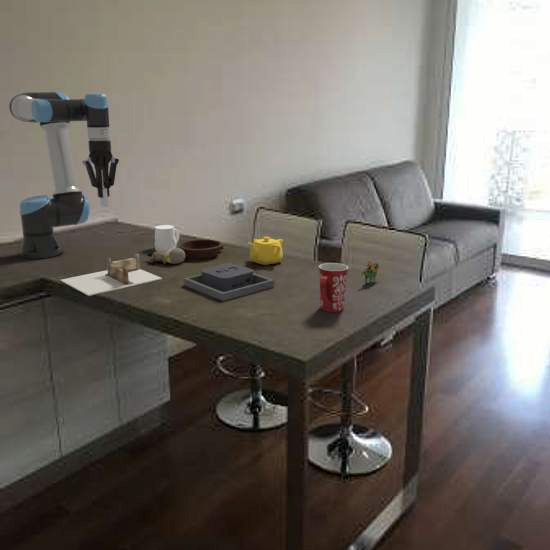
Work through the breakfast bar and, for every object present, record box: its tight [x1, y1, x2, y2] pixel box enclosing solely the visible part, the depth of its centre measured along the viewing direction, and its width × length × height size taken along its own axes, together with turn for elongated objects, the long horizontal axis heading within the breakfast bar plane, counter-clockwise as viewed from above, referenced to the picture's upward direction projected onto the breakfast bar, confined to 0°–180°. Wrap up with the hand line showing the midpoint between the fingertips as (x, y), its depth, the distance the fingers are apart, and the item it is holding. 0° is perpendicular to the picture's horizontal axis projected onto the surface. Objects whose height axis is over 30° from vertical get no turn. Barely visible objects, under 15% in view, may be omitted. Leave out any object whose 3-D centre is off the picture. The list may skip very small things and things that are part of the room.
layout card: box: [60, 268, 163, 297], centre depth 215 cm, size 22×28×1 cm
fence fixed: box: [106, 253, 141, 275], centre depth 223 cm, size 13×2×6 cm, turn 132°
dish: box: [178, 238, 225, 260], centre depth 247 cm, size 18×22×5 cm
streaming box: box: [200, 262, 254, 292], centre depth 211 cm, size 14×14×5 cm
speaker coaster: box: [183, 272, 275, 302], centre depth 209 cm, size 22×22×2 cm
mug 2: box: [318, 262, 349, 313], centre depth 185 cm, size 13×9×14 cm
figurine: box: [360, 261, 380, 285], centre depth 212 cm, size 3×12×8 cm, turn 141°
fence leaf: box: [109, 263, 129, 284], centre depth 213 cm, size 13×2×5 cm, turn 38°
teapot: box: [247, 236, 284, 266], centre depth 236 cm, size 14×13×10 cm
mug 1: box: [154, 224, 180, 251], centre depth 258 cm, size 12×9×8 cm
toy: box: [146, 247, 186, 265], centre depth 238 cm, size 10×6×15 cm
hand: (104, 206), depth 219 cm, fingers closed
